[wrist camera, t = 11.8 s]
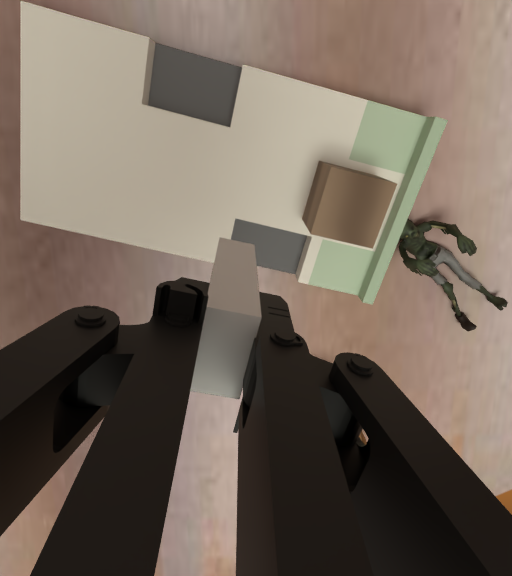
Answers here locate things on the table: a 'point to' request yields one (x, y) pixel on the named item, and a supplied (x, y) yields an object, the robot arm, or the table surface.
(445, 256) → the zombie figurine
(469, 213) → the table surface
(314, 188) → the walnut block
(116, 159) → the trap board
